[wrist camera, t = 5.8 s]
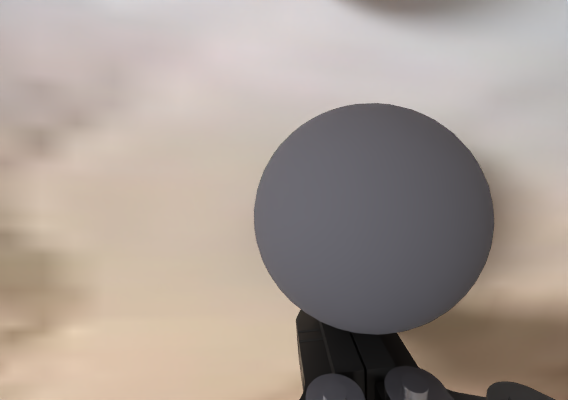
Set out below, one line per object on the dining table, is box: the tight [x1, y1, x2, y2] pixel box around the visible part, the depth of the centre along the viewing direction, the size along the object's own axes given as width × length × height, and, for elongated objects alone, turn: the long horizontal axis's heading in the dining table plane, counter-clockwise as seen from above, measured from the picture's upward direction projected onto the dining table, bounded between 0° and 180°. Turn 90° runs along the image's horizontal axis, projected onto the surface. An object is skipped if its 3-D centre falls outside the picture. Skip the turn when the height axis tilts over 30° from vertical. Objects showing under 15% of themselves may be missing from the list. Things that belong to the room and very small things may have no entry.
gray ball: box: [254, 103, 494, 335], centre depth 8 cm, size 6×6×6 cm
